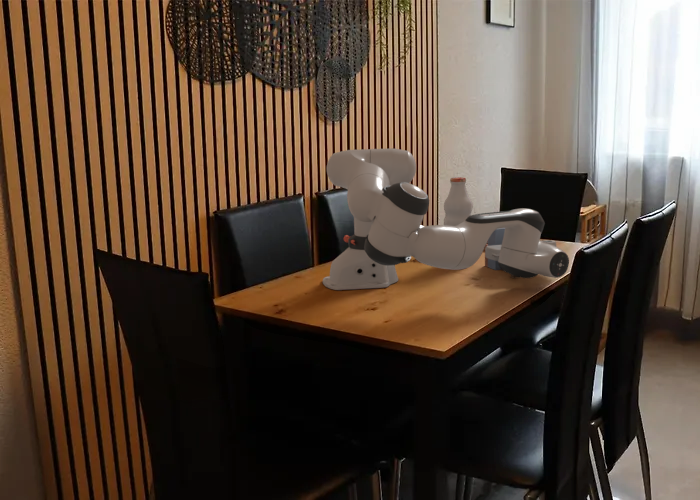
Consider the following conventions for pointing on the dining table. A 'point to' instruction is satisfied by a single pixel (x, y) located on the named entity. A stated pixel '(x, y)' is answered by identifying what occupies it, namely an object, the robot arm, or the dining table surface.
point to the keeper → (495, 239)
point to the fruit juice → (457, 203)
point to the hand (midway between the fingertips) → (506, 246)
